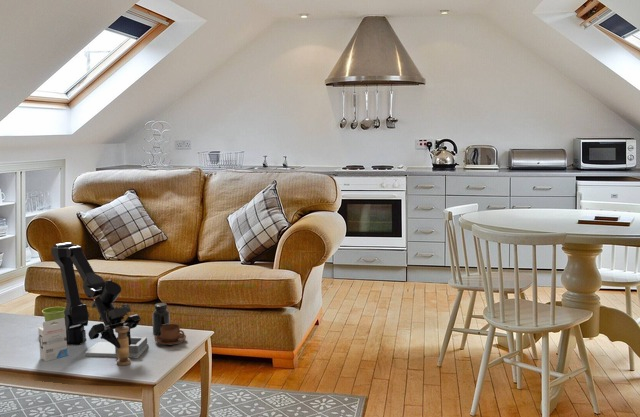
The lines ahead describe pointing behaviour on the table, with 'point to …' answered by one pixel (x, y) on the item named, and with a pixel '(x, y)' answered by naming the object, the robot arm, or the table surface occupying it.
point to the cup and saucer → (170, 335)
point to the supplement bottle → (160, 317)
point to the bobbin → (123, 345)
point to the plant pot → (53, 313)
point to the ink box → (53, 340)
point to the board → (111, 351)
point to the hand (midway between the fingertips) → (125, 346)
